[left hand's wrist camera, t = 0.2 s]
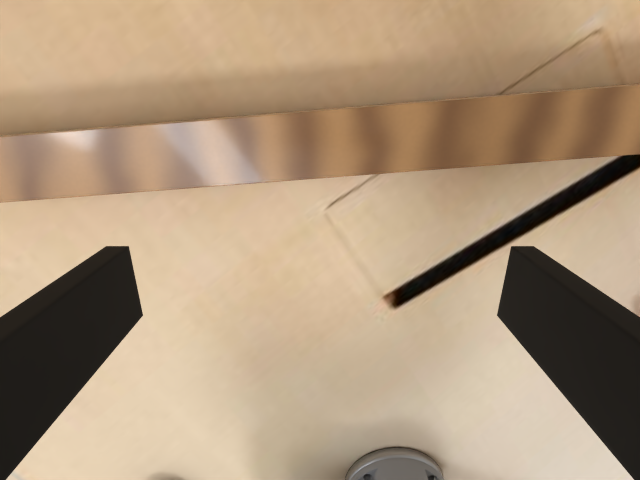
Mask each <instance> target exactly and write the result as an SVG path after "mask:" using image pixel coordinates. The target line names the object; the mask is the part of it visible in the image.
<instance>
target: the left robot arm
mask: <svg viewBox="0 0 640 480" xmlns="http://www.w3.org/2000/svg"><path fill="white" fill-rule="evenodd" d="M142 316H143V314H142V309H141V304H140V299H139V294H138V289H137V284H136V280H135V275H134V270H133V265H132V260H131V255H130V251H129V246H106V247H105V248H103V249H102V250H100V251H99V252H97V253H96V254H94V255H93V256H91V257H90V258H88V259H87V260H85V261H84V262H82V263H81V264H79V265H78V266H76V267H75V268H73V269H72V270H70V271H69V272H67V273H66V274H64V275H63V276H61V277H60V278H58V279H57V280H55V281H54V282H52V283H51V284H49V285H48V286H46V287H45V288H43V289H42V290H40V291H39V292H37V293H36V294H34V295H33V296H31V297H30V298H28V299H27V300H25V301H24V302H22V303H21V304H19V305H18V306H17V307H15V308H14V309H12V310H11V311H9V312H8V313H6V314H5V315H3V316H2V317H0V480H6V479H7V477H8V476H9V475H10V474H11V473H12V472H13V470H14V469H15V468H16V467H17V466H18V464H19V463H20V462H21V461H22V460H23V458H24V457H25V456H26V455H27V454H28V452H29V451H30V450H31V449H32V448H33V446H34V445H35V444H36V443H37V442H38V440H39V439H40V438H41V437H42V436H43V434H44V433H45V432H46V431H47V430H48V428H49V427H50V426H51V425H52V424H53V422H54V421H55V420H56V419H57V418H58V416H59V415H60V414H61V413H62V412H63V410H64V409H65V408H66V407H67V406H68V404H69V403H70V402H71V401H72V400H73V398H74V397H75V396H76V395H77V394H78V392H79V391H80V390H81V389H82V388H83V386H84V385H85V384H86V383H87V382H88V381H89V379H90V378H91V377H92V376H93V375H94V373H95V372H96V371H97V370H98V369H99V367H100V366H101V365H102V364H103V363H104V361H105V360H106V359H107V358H108V357H109V355H110V354H111V353H112V352H113V351H114V349H115V348H116V347H117V346H118V345H119V343H120V342H121V341H122V340H123V339H124V337H125V336H126V335H127V334H128V333H129V331H130V330H131V329H132V328H133V327H134V325H135V324H136V323H137V322H138V321H139V319H140V318H141V317H142ZM497 316H498V317H499V318H500V319H501V321H502V322H503V323H504V324H505V325H506V327H507V328H508V329H509V330H510V331H511V333H512V334H513V335H514V336H515V337H516V339H517V340H518V341H519V342H520V343H521V345H522V346H523V347H524V348H525V349H526V351H527V352H528V353H529V354H530V355H531V357H532V358H533V359H534V360H535V361H536V363H537V364H538V365H539V366H540V367H541V369H542V370H543V371H544V372H545V373H546V375H547V376H548V377H549V378H550V379H551V381H552V382H553V383H554V384H555V385H556V387H557V388H558V389H559V390H560V391H561V392H562V394H563V395H564V396H565V397H566V398H567V400H568V401H569V402H570V403H571V404H572V406H573V407H574V408H575V409H576V410H577V412H578V413H579V414H580V415H581V416H582V418H583V419H584V420H585V421H586V422H587V424H588V425H589V426H590V427H591V428H592V430H593V431H594V432H595V433H596V434H597V436H598V437H599V438H600V439H601V440H602V442H603V443H604V444H605V445H606V446H607V448H608V449H609V450H610V451H611V452H612V454H613V455H614V456H615V457H616V458H617V460H618V461H619V462H620V463H621V464H622V466H623V467H624V468H625V469H626V470H627V472H628V473H629V474H630V475H631V476H632V478H633V479H634V480H640V317H638V316H637V315H635V314H634V313H632V312H631V311H629V310H628V309H626V308H625V307H623V306H622V305H621V304H619V303H618V302H616V301H615V300H613V299H612V298H610V297H609V296H607V295H606V294H604V293H603V292H601V291H600V290H598V289H597V288H595V287H594V286H592V285H591V284H589V283H588V282H586V281H585V280H583V279H582V278H580V277H579V276H577V275H576V274H574V273H573V272H571V271H570V270H568V269H567V268H565V267H564V266H562V265H561V264H559V263H558V262H556V261H555V260H553V259H552V258H550V257H549V256H547V255H546V254H544V253H543V252H541V251H540V250H538V249H537V248H535V247H534V246H511V250H510V255H509V260H508V265H507V270H506V275H505V280H504V284H503V289H502V294H501V299H500V304H499V309H498V314H497ZM345 480H444V479H443V476H442V473H441V470H440V468H439V466H438V465H437V463H436V462H435V461H434V460H433V459H432V458H430V457H429V456H427V455H426V454H424V453H421V452H419V451H416V450H412V449H407V448H387V449H382V450H378V451H375V452H372V453H369V454H367V455H365V456H364V457H362V458H360V459H359V460H358V461H357V462H355V463H354V464H353V465H352V467H351V468H350V469H349V471H348V473H347V475H346V478H345Z"/></svg>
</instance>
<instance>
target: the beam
mask: <svg viewBox="0 0 640 480" xmlns="http://www.w3.org/2000/svg"><path fill="white" fill-rule="evenodd" d="M633 154H640V84H627V85H615V86H603V87H590V88H578V89H566V90H554V91H541V92H529V93H517V94H504V95H492V96H480V97H467V98H455V99H443V100H430V101H418V102H406V103H393V104H381V105H369V106H357V107H344V108H332V109H320V110H307V111H295V112H283V113H270V114H258V115H246V116H233V117H221V118H209V119H196V120H184V121H172V122H160V123H147V124H135V125H123V126H110V127H98V128H86V129H73V130H61V131H49V132H36V133H24V134H12V135H0V203H1V202H14V201H28V200H41V199H54V198H67V197H80V196H93V195H107V194H120V193H133V192H146V191H159V190H172V189H185V188H199V187H212V186H225V185H238V184H251V183H264V182H278V181H291V180H304V179H317V178H330V177H343V176H357V175H370V174H383V173H396V172H409V171H422V170H436V169H449V168H462V167H475V166H488V165H501V164H514V163H528V162H541V161H554V160H567V159H580V158H593V157H607V156H620V155H633Z"/></svg>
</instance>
